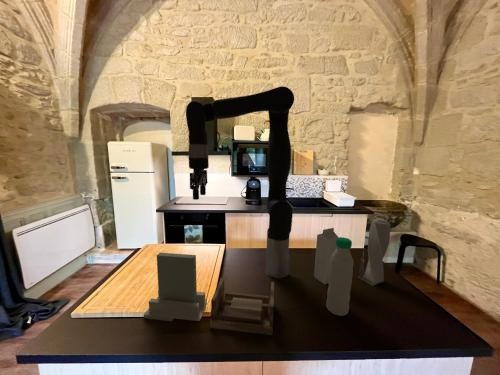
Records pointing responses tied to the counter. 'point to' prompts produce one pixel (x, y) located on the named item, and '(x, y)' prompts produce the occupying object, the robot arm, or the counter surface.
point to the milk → (324, 254)
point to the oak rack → (217, 322)
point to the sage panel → (177, 277)
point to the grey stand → (176, 309)
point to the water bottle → (340, 278)
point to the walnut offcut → (236, 319)
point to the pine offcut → (246, 308)
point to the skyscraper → (376, 251)
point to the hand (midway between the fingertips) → (199, 197)
